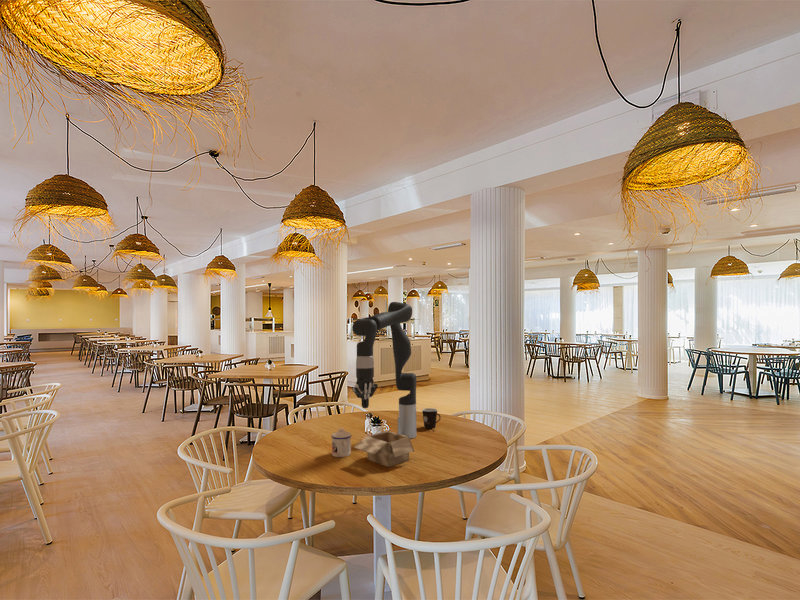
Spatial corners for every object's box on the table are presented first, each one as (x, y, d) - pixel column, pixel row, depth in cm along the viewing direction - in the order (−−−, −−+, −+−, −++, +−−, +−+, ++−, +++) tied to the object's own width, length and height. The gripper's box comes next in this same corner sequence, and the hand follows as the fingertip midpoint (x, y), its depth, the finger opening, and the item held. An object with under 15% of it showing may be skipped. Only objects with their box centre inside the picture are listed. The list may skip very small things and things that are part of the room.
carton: (363, 458, 187) (362, 434, 188) (388, 450, 198) (388, 428, 199) (394, 469, 173) (393, 444, 173) (419, 460, 184) (419, 436, 184)
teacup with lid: (329, 452, 195) (329, 427, 195) (348, 450, 199) (348, 425, 199) (336, 460, 184) (336, 434, 185) (355, 457, 188) (355, 431, 188)
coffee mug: (420, 426, 242) (420, 408, 242) (434, 425, 245) (433, 407, 245) (427, 431, 231) (427, 413, 231) (441, 430, 233) (441, 411, 234)
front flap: (367, 436, 185) (354, 447, 179) (366, 435, 185) (353, 446, 179) (387, 442, 175) (374, 454, 170) (387, 442, 175) (374, 453, 170)
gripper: (371, 364, 184) (371, 404, 183) (347, 367, 175) (347, 409, 174) (382, 365, 179) (382, 406, 178) (358, 368, 170) (358, 411, 169)
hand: (365, 407), depth 176 cm, fingers closed
